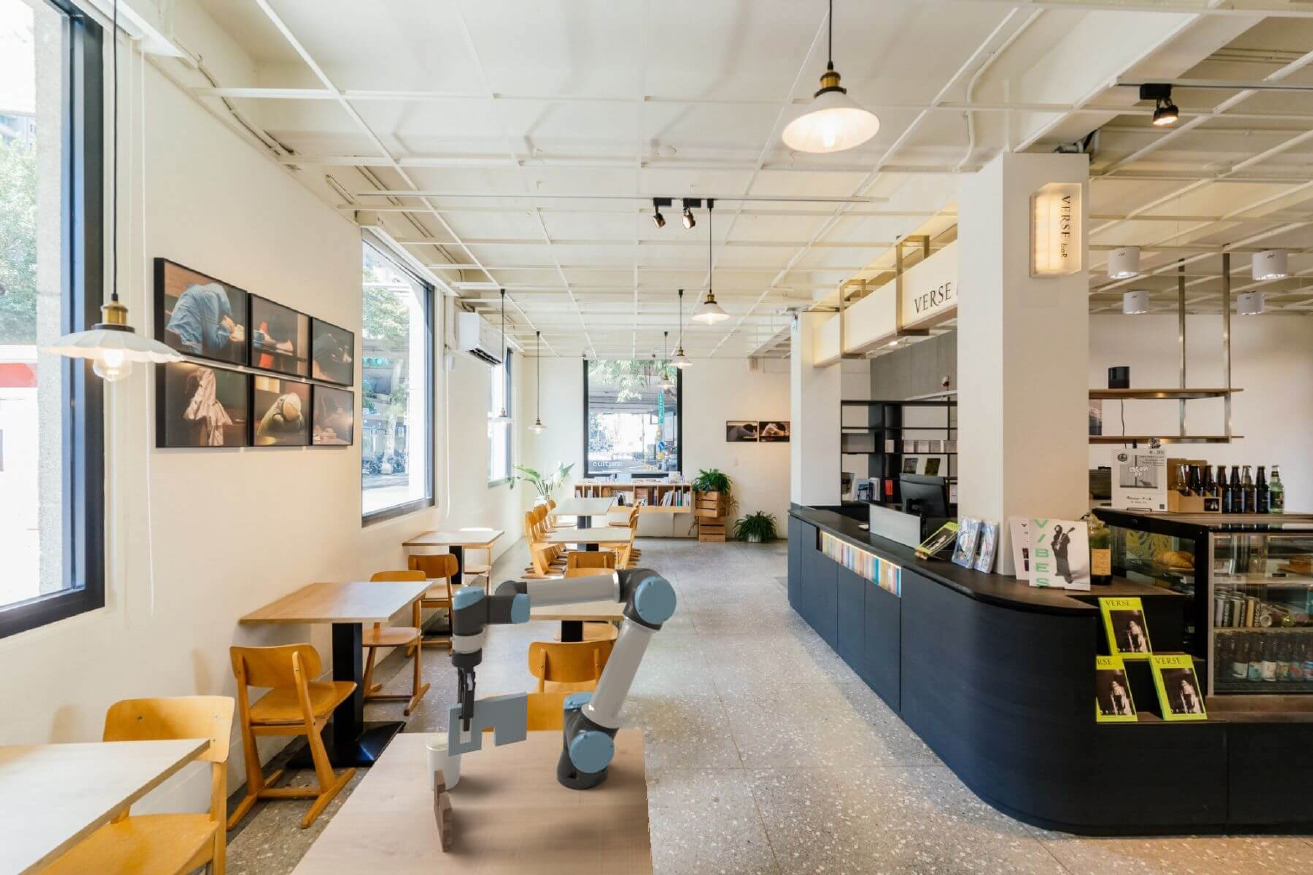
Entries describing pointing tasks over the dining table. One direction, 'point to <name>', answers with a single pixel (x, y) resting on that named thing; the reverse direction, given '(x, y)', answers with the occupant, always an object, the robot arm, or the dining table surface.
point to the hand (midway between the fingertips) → (464, 739)
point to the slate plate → (490, 722)
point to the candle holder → (442, 761)
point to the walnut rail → (442, 810)
